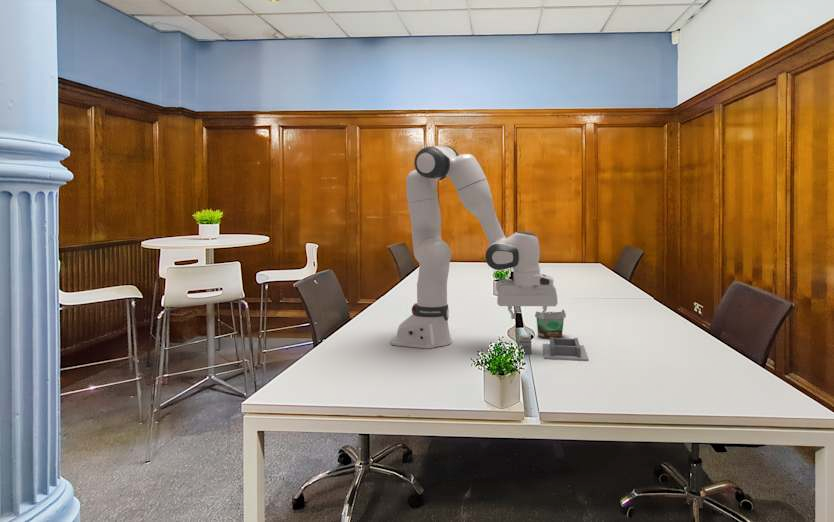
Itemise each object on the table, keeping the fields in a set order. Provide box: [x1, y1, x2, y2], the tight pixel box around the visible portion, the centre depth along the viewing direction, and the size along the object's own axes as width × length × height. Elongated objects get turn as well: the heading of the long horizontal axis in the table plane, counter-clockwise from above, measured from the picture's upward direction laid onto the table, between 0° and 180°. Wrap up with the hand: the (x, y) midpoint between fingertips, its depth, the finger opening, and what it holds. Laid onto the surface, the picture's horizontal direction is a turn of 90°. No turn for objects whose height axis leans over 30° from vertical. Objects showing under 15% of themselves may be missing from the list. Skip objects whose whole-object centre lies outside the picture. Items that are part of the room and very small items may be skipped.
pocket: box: [542, 337, 589, 362], centre depth 178 cm, size 14×17×4 cm
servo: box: [518, 334, 532, 355], centre depth 180 cm, size 4×9×5 cm, turn 168°
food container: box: [534, 309, 567, 340], centre depth 197 cm, size 12×6×10 cm, turn 105°
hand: (527, 318), depth 179 cm, fingers open, 8 cm apart
